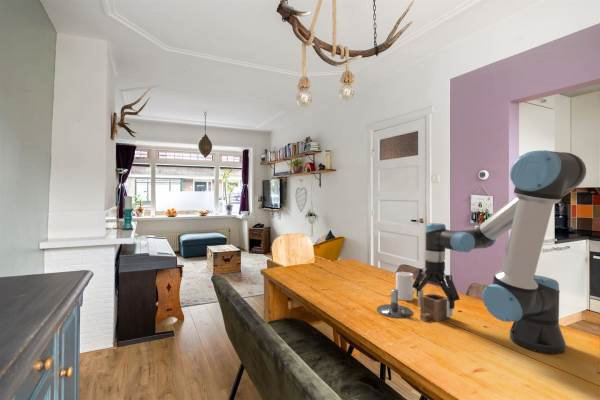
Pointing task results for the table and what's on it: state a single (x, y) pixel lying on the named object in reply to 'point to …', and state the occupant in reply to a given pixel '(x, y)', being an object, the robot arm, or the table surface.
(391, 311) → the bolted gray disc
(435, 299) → the collar
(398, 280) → the mug
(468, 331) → the table surface
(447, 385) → the table surface
